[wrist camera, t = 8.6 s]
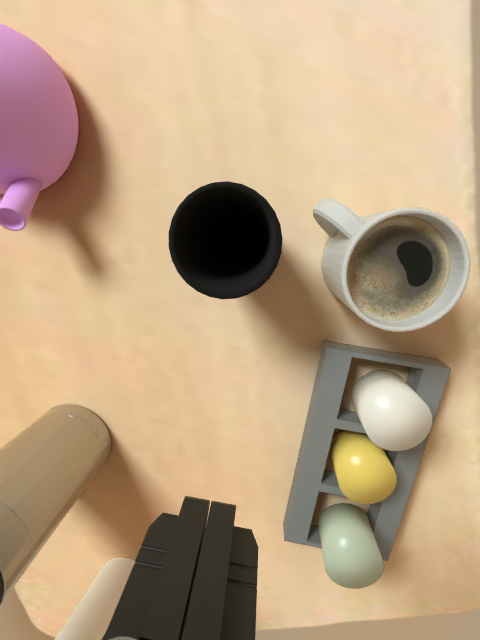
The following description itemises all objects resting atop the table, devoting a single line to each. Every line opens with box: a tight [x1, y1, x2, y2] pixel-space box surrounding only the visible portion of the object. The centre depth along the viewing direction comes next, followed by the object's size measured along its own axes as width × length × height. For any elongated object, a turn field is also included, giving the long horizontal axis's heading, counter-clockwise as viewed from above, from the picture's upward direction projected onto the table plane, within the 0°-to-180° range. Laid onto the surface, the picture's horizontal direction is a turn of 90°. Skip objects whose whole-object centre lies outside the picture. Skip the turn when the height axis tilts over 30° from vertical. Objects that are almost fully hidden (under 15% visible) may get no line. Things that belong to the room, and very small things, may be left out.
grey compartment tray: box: [283, 341, 451, 561], centre depth 38 cm, size 24×12×2 cm, turn 172°
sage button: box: [318, 503, 384, 589], centre depth 36 cm, size 6×6×5 cm
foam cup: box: [55, 557, 135, 640], centre depth 40 cm, size 10×9×13 cm
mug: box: [313, 198, 470, 332], centre depth 29 cm, size 11×10×10 cm
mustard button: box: [330, 430, 397, 504], centre depth 36 cm, size 6×6×5 cm
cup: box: [169, 182, 282, 299], centre depth 28 cm, size 8×8×12 cm
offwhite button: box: [351, 370, 432, 451], centre depth 32 cm, size 6×6×5 cm
